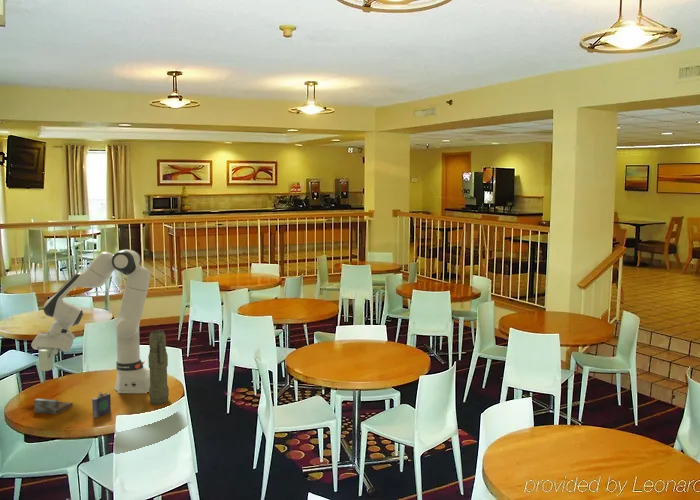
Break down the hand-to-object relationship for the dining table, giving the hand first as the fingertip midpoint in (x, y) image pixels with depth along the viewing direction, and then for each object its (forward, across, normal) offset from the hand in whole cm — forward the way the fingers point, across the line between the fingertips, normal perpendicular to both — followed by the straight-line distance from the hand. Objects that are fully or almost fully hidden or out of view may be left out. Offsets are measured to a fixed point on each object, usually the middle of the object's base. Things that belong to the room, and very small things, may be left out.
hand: (45, 357), depth 291 cm
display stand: (+25, +16, +2) cm, 30 cm away
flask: (+26, +42, +2) cm, 49 cm away
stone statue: (+11, +59, +16) cm, 62 cm away
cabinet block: (+4, 0, +5) cm, 6 cm away
